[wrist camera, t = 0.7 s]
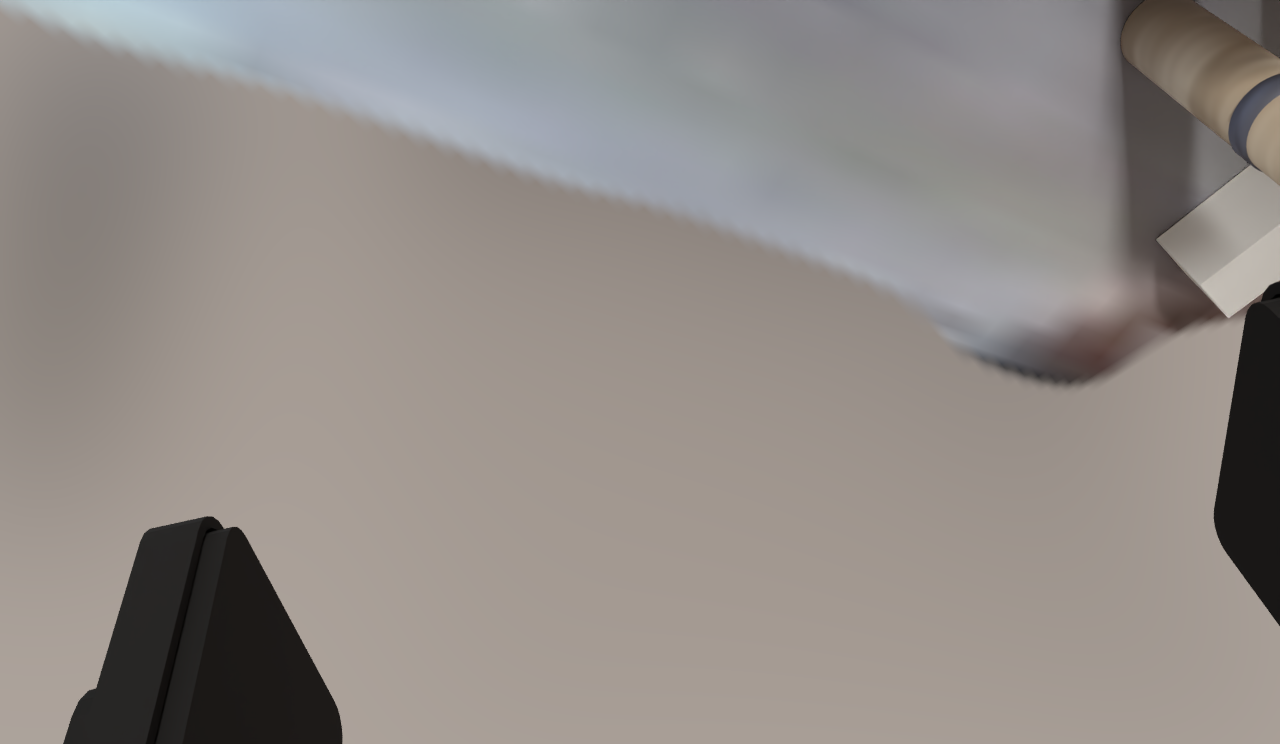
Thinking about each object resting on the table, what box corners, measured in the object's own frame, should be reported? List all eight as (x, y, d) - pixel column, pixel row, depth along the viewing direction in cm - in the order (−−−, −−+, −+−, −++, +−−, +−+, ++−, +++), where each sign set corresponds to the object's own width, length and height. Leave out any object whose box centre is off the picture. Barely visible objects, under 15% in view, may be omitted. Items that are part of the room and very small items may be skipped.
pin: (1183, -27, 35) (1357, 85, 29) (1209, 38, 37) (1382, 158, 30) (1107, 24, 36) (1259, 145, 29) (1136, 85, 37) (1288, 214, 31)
